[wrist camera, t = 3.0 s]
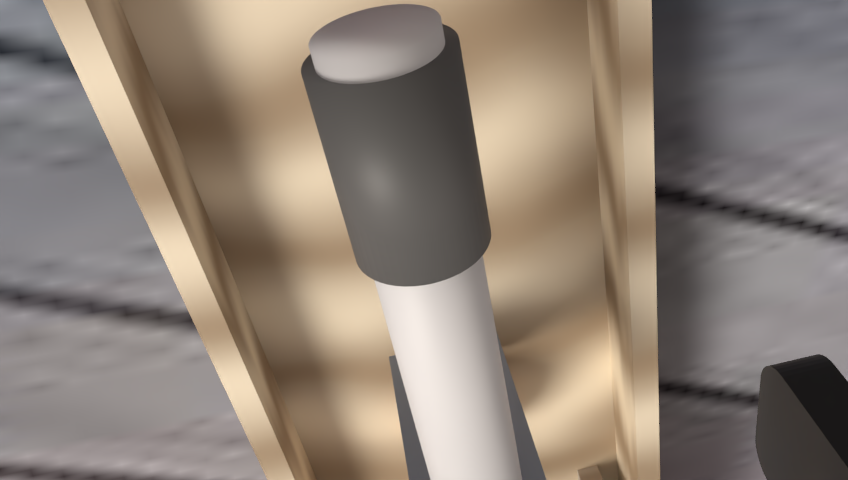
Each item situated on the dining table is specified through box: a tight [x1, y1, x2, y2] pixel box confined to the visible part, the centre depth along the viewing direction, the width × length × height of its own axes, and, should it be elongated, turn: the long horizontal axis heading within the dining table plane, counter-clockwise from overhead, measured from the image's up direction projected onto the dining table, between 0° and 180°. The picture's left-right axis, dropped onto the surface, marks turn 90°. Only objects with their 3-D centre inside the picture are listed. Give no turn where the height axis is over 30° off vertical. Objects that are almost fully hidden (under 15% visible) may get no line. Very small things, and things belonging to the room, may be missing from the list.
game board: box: [43, 0, 660, 480], centre depth 31 cm, size 36×16×10 cm, turn 11°
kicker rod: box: [301, 4, 546, 480], centre depth 24 cm, size 18×4×11 cm, turn 11°
